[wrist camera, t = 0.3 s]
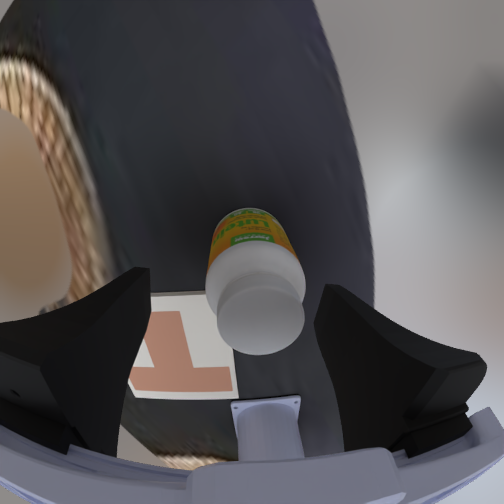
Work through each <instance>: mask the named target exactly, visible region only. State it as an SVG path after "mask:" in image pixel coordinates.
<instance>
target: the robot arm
mask: <svg viewBox="0 0 504 504" xmlns="http://www.w3.org/2000/svg"><path fill="white" fill-rule="evenodd" d="M151 311H152V308H151V292H150V268H141V267H134V268H132V269H130V270H129V271H127V272H125V273H124V274H122V275H121V276H119V277H118V278H116V279H114V280H113V281H111V282H110V283H108V284H107V285H105V286H103V287H102V288H100V289H98V290H96V291H95V292H93V293H91V294H89V295H88V296H86V297H84V298H82V299H80V300H78V301H76V302H73V303H71V304H69V305H67V306H64V307H62V308H59V309H56V310H53V311H51V312H48V313H45V314H42V315H38V316H34V317H31V318H26V319H22V320H17V321H10V322H3V323H0V485H1V486H3V487H5V488H6V489H8V490H9V491H11V492H13V493H14V494H16V495H18V496H19V497H21V498H23V499H25V500H26V501H28V502H30V503H32V504H435V503H436V502H438V501H440V500H442V499H444V498H446V497H447V496H449V495H451V494H453V493H454V492H456V491H458V490H459V489H461V488H463V487H464V486H466V485H468V484H469V483H471V482H472V481H474V480H475V479H477V478H478V477H479V476H480V475H482V474H483V473H484V472H485V471H487V470H488V469H490V468H491V467H492V466H493V465H495V464H496V463H497V462H498V461H499V460H501V459H502V458H503V457H504V429H503V427H502V426H501V424H500V423H499V421H498V419H497V418H496V416H495V415H494V413H493V412H492V410H491V408H490V407H487V408H485V409H483V410H481V411H479V412H476V413H475V414H473V415H472V416H470V417H469V418H468V417H467V415H466V414H465V413H466V412H467V411H468V410H469V407H468V406H467V404H466V401H467V400H468V399H469V398H470V396H471V395H472V394H473V393H474V391H475V390H476V389H477V388H478V386H479V385H480V383H481V382H482V380H483V378H484V376H485V374H486V370H487V365H486V363H485V362H484V360H483V359H482V358H481V357H480V355H478V354H477V353H474V352H470V351H465V350H461V349H456V348H453V347H450V346H446V345H443V344H440V343H437V342H435V341H432V340H430V339H427V338H425V337H423V336H420V335H418V334H416V333H414V332H411V331H410V330H408V329H406V328H404V327H402V326H400V325H398V324H397V323H395V322H393V321H392V320H390V319H389V318H387V317H386V316H384V315H382V314H381V313H379V312H378V311H376V310H375V309H374V308H372V307H371V306H369V305H368V304H366V303H365V302H364V301H362V300H361V299H360V298H358V297H357V296H355V295H354V294H352V293H351V292H350V291H348V290H347V289H345V288H343V287H342V286H340V285H334V284H325V287H324V291H323V294H322V297H321V301H320V304H319V307H318V311H317V314H316V317H315V320H314V327H315V332H316V337H317V341H318V345H319V347H320V350H321V353H322V356H323V358H324V361H325V364H326V367H327V369H328V372H329V375H330V377H331V380H332V383H333V386H334V390H335V393H336V398H337V403H338V407H339V413H340V418H341V424H342V431H343V440H344V449H345V452H343V453H337V454H331V455H324V456H316V457H307V458H305V457H304V452H303V447H302V442H301V438H300V433H299V428H298V423H297V420H298V414H299V408H300V401H301V398H300V396H299V395H294V396H286V397H278V398H268V399H256V400H242V401H232V402H231V409H232V415H233V420H234V425H235V431H236V436H237V438H238V455H239V461H233V462H217V463H213V464H209V465H205V466H201V467H198V468H196V469H195V470H193V471H191V470H182V469H174V468H166V467H160V466H154V465H148V464H143V463H138V462H133V461H128V460H124V459H120V458H117V445H118V435H119V427H120V420H121V414H122V408H123V402H124V397H125V393H126V388H127V384H128V379H129V376H130V373H131V370H132V367H133V365H134V362H135V359H136V357H137V354H138V352H139V349H140V346H141V344H142V341H143V339H144V336H145V333H146V331H147V327H148V323H149V319H150V315H151Z"/></svg>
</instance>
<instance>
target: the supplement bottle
mask: <svg viewBox="0 0 504 504" xmlns="http://www.w3.org/2000/svg"><path fill="white" fill-rule="evenodd" d="M305 288H306V284H305V276H304V273H303V270H302V267H301V265H300V262H299V260H298V258H297V256H296V254H295V252H294V250H293V248H292V246H291V244H290V242H289V240H288V238H287V236H286V233H285V231H284V229H283V228H282V226H281V224H280V223H279V222H278V220H277V219H276V218H275V217H274V216H272V215H271V214H269V213H268V212H266V211H264V210H261V209H257V208H243V209H238V210H236V211H233V212H231V213H229V214H228V215H227V216H225V217H224V218H223V219H222V220H221V221H220V222H219V224H218V225H217V227H216V229H215V231H214V234H213V239H212V244H211V250H210V257H209V263H208V270H207V276H206V286H205V291H206V298H207V301H208V304H209V306H210V308H211V310H212V311H213V313H214V314H215V315H216V316H217V328H218V331H219V334H220V336H221V338H222V339H223V340H224V341H225V343H226V344H228V345H229V346H230V347H231V348H233V349H235V350H237V351H239V352H242V353H245V354H251V355H265V354H270V353H274V352H277V351H279V350H282V349H284V348H285V347H287V346H289V345H290V344H291V343H292V342H294V341H295V339H296V338H297V337H298V336H299V334H300V333H301V331H302V328H303V325H304V320H305V317H304V310H303V306H302V301H303V298H304V295H305Z"/></svg>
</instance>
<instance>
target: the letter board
mask: <svg viewBox="0 0 504 504" xmlns="http://www.w3.org/2000/svg"><path fill="white" fill-rule="evenodd" d="M151 308H152V311H151V315H150V319H149V323H148V327H147V331H146V333H145V336H144V339H143V341H142V344H141V346H140V349H139V352H138V354H137V357H136V359H135V362H134V365H133V367H132V370H131V373H130V376H129V379H128V384H129V386H130V388H131V390H132V391H133V393H134V395H135V397H139V398H155V399H189V400H200V399H234V398H239V395H238V387H237V379H236V371H235V363H234V355H233V348H231V347H230V346H229V345H228V344H226V343H225V341H224V340H223V339H222V338H221V336H220V334H219V331H218V328H217V316H216V315H215V314H214V313H213V311H212V310H211V308H210V306H209V304H208V301H207V298H206V291H205V290H204V291H185V292H162V293H151Z"/></svg>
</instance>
